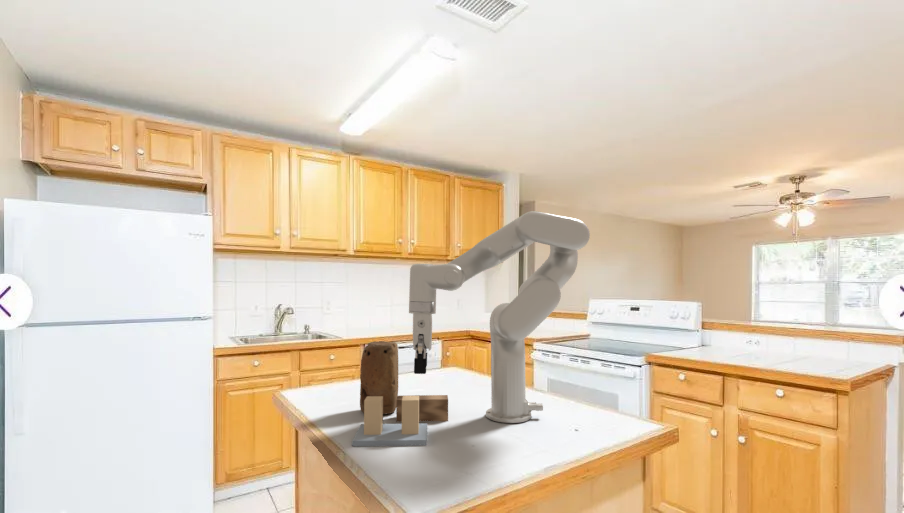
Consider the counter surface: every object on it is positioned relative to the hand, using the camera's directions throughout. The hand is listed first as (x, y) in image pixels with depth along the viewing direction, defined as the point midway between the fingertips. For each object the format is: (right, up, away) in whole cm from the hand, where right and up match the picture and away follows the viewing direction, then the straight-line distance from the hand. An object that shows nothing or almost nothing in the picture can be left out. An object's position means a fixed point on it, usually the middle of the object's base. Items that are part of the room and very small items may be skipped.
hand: (420, 369), depth 123 cm
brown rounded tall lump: (-13, -14, +6) cm, 20 cm away
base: (-6, -13, -15) cm, 20 cm away
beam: (+1, -14, -1) cm, 14 cm away
